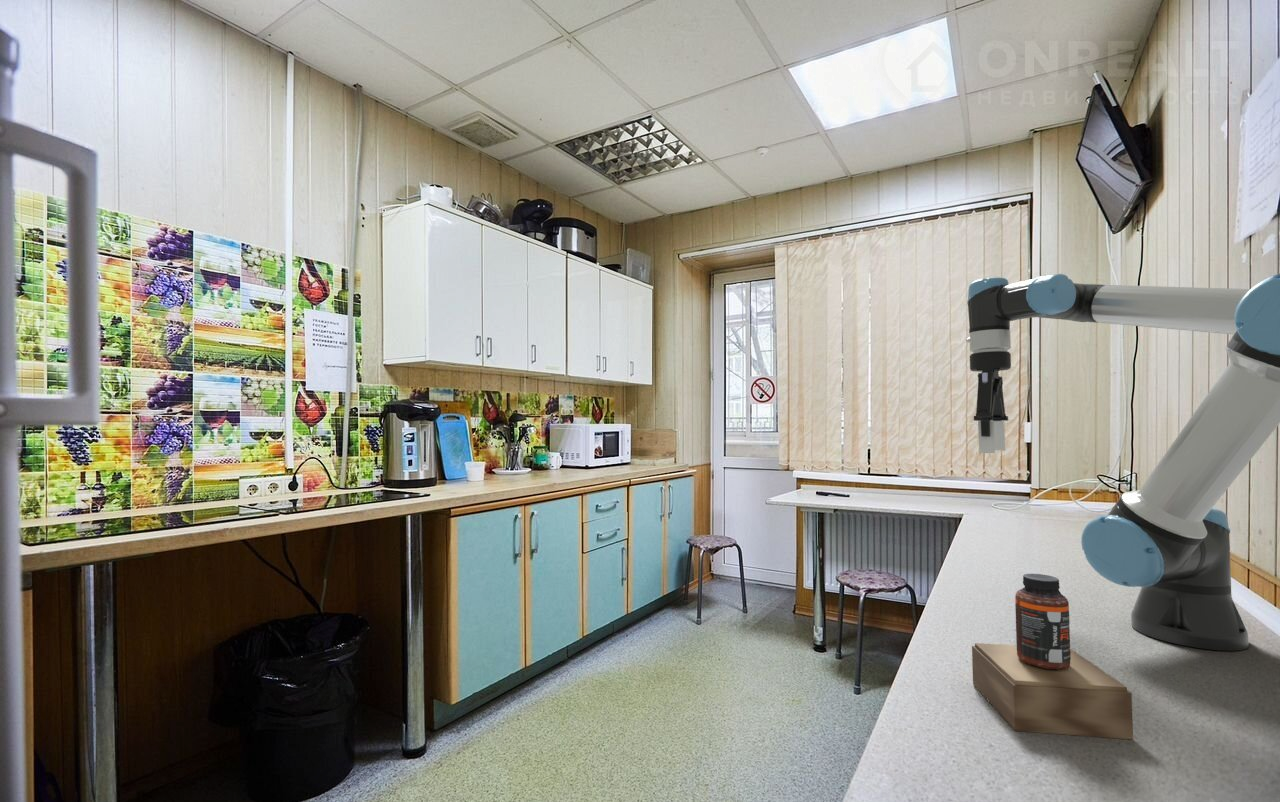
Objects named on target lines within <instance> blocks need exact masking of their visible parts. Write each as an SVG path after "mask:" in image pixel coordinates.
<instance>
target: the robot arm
mask: <svg viewBox="0 0 1280 802" xmlns="http://www.w3.org/2000/svg"><path fill="white" fill-rule="evenodd" d="M967 291H968V294H967V301H966V302H967V311H968V325H969V329H968V335H969V337H968V338H966V343H967V344H969V351H970V352H972V353H971V354H970V355H969V369H970V371H972V372H977V373H978V374H977V383H978V384H977V394H976V409H975V412H976V413H975V415H974V416H973V421H974V422H977V423H978V424H977V427H978V428H977V429H978V431H977V432H978V453H979V454H995V453H996V451H1002V452H1003V451H1004V452H1005V451H1006V436H1005V435H1006V434H1005V433H1006V431H1005V421H1007V422H1008V421H1009V416H1008V415H1007V414H1006V410H1005V400H1004V389H1003V384H1004V382H1003V377H1002V375H1000V374H999V371H1000V372H1001V371H1008V370H1011V368H1012V358H1011V357H1012V356H1011V355H1012V354H1011V352H1010V351H1009V350H1010V349H1012V347H1011V346H1012V345H1011V342H1012V341H1011V328H1010V327H1011V325H1010V324H1011V322H1013V321H1019V320H1025V319H1031V318H1042V319H1051V320H1052V319H1053V320H1063V321H1064V320H1065V321H1072V322H1078V323H1095V324H1096V323H1097V324H1098V323H1100V324H1111V325H1122V326H1132V327H1134V326H1135V327H1144V328H1156V329H1166V330H1167V329H1168V330H1179V331H1189V332H1199V333H1213V334H1224V335H1232V337H1231V338H1230V340H1229V342H1228V343H1227V345H1226V346H1225V347H1224V348H1225V351H1226V353H1227V355H1228V358H1229V364H1228V366H1226V368H1225V369H1224V370H1223V372H1222V373H1221V375H1220V377H1219V378H1218V379H1217V381H1216V382H1215V383H1214V385H1213V387H1212V388H1211V389H1210V391H1209V392H1208V393H1207V395H1206V396H1205V398H1204V399H1203V400H1202V402H1201V403H1200V404H1199V406H1198V407H1197V409H1196V410H1195V411H1194V412H1193V414H1192V416H1191V417H1190V418H1189V420H1188V421H1187V422H1186V424H1185V426H1184V427H1183V428H1182V430H1181V431H1180V433H1179V434H1177V437H1176V438H1175V439H1174V441H1173V442H1172V443H1171V446H1169V448H1168V449H1167V450H1166V452H1165V454H1164V455H1163V456H1162V457H1161V459H1160V461H1158V463H1157V465H1156V466H1155V467H1154V469H1153V470H1152V471H1151V473H1150V474H1149V476H1148V477H1147V479H1146V480H1145V481H1144V483H1143V484H1142V486H1141V487H1140V489H1137V490H1131V491H1125V492H1123V493H1122V494H1121V495H1120V497H1119V498H1118V500H1117V501H1116V502H1115V504H1114V505H1113V507H1112V508H1111V510H1110V511H1109V513H1108V514H1107V515H1100V516H1098V517H1096V518H1094V519H1092V520H1091V521H1090V522H1088V523H1087V524H1086V525H1085V527H1084V529H1083V531H1082V534H1081V538H1080V539H1081V540H1080V541H1081V542H1080V543H1081V549H1082V550H1083V553H1084V555H1085V560H1086V561H1087V562H1088V564H1089V565H1090V566H1091V567H1092V569H1093V570H1094V571H1095V572H1096V573H1097V574H1099V575H1100V576H1101V577H1102V578H1104V579H1105V580H1107V581H1109V582H1111V583H1113V584H1116V585H1119V586H1123V587H1129V588H1130V587H1131V588H1132V587H1133V588H1135V587H1139V588H1140V591H1139V593H1138V595H1137V597H1136V599H1135V600H1136V601H1135V603H1134V606H1133V609H1132V611H1131V614H1130V620H1131V622H1130V623H1131V627H1132V628H1133V629H1134V630H1135V631H1137V632H1139V633H1140V634H1143V635H1145V636H1148V637H1152V638H1154V639H1157V640H1159V641H1163V642H1166V643H1167V642H1168V643H1172V644H1175V645H1180V646H1185V647H1189V648H1196V649H1204V650H1212V651H1224V652H1225V651H1229V652H1231V651H1233V652H1234V651H1241V650H1246V649H1247V648H1248V647H1249V633H1248V630H1247V628H1246V626H1245V623H1244V622H1243V620H1242V616H1241V615H1240V613H1239V611H1238V608H1237V607H1236V604H1235V602H1234V600H1233V597H1232V596H1233V594H1232V573H1231V571H1232V570H1231V548H1230V547H1231V541H1230V534H1231V529H1230V526H1229V520H1228V516H1227V514H1226V513H1225V512H1224V511H1222V510H1220V509H1218V508H1217V509H1216V508H1214V507H1215V505H1216V504H1217V503H1218V501H1219V500H1220V499H1221V498H1222V496H1223V495H1224V494H1225V493H1226V491H1227V490H1228V489H1229V487H1230V486H1231V485H1232V484H1233V482H1234V481H1235V480H1236V479H1237V478H1238V477H1239V475H1240V474H1241V472H1242V471H1243V470H1244V469H1245V468H1246V466H1247V465H1248V464H1249V462H1251V460H1252V459H1253V457H1254V456H1255V455H1256V453H1258V451H1259V450H1260V449H1261V447H1262V446H1263V445H1264V444H1265V442H1266V441H1267V440H1268V438H1269V437H1271V435H1272V434H1273V433H1274V431H1275V429H1277V427H1278V426H1279V424H1280V273H1277V274H1275V275H1274V274H1273V275H1272V276H1269V277H1268V278H1265V279H1263V280H1262V281H1260V282H1259V283H1257V284H1256V285H1254V286H1252V287H1251V288H1225V287H1224V288H1221V287H1191V286H1190V287H1189V286H1188V287H1187V286H1159V285H1158V286H1157V285H1154V286H1152V285H1126V284H1125V285H1123V284H1121V285H1120V284H1116V285H1115V284H1098V283H1097V284H1093V283H1090V284H1089V283H1076V282H1073V280H1072V279H1070V278H1069V277H1068V276H1067V275H1066V274H1064V273H1055V274H1049V275H1046V274H1044V275H1041V276H1038V277H1036V278H1031V279H1027V280H1023V281H1018V282H1014V283H1010V284H1009V280H1008V279H1007V278H1005V277H1000V276H999V277H997V276H996V277H995V276H994V277H987V278H980V279H977V280H974V281H973V282H971V283H970V284H969V286H968V290H967Z"/></svg>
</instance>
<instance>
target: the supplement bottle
mask: <svg viewBox="0 0 1280 802" xmlns="http://www.w3.org/2000/svg"><path fill="white" fill-rule="evenodd" d="M1022 584H1023V586H1024V587H1021V589H1018V590H1017V591H1016V592H1015V597H1014V598H1015V599H1014V601H1015V602H1014V603H1015V604H1014V605H1015V607H1014V608H1015V632H1016V635H1015V637H1016V640H1015V641H1016V645H1017V655H1018V657H1019V658H1020V659H1021V660H1022V661H1024V662H1025V663H1027V664H1030V665H1033V666H1036V667H1040V668H1045V669H1051V670H1062V669H1066V668H1068V667H1069V666H1070V660H1071V657H1070V654H1071V652H1070V649H1071V637H1070V636H1071V635H1070V633H1071V630H1070V605H1069V600H1068V598H1067V597H1066V596H1065V595H1063V594H1062V593H1061V591H1060V588H1061V587H1060V580H1059V578H1058V577H1055V576H1053V575H1047V574H1041V573H1025V574H1023V575H1022Z"/></svg>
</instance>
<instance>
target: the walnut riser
mask: <svg viewBox="0 0 1280 802" xmlns="http://www.w3.org/2000/svg"><path fill="white" fill-rule="evenodd" d="M1070 652H1071V654H1070V657H1071V660H1070V666H1069V667H1068V668H1066V669H1062V670H1051V669H1045V668H1040V667H1036V666H1033V665H1030V664H1027V663H1025V662H1024V661H1022V660H1021V659H1020V658H1019V657H1018V655H1017V644H1016V645H1015V644H997V643H980V642H975V643H974V645H971V654H972V655H971V656H972V657H971V658H972V659H971V661H972V663H971V664H972V685H973V686H974V687H975V688H976V689H977V691H978V692H980V693H981V695H983V697H984V698H985V699H986V701H988V703H989V704H990V705H991V706H992V708H994V709H995V710H996V711H997V712H998V713H999V715H1000V716H1001V717H1002V718H1003V719H1004V720H1005V722H1007V724H1008V725H1009V726H1010V727H1011V728H1012V729H1013V730H1014V732H1015V731H1016V732H1025V733H1026V732H1028V733H1039V734H1041V733H1042V734H1056V735H1065V736H1066V735H1068V736H1069V735H1070V736H1081V737H1095V738H1107V739H1123V740H1134V723H1133V721H1134V719H1133V695H1132V691H1130V690H1128V687H1127V685H1124V684H1123V683H1122V682H1120V681H1118V680H1117V679H1115V678H1114V677H1112V676H1111V675H1110V674H1108V673H1107V672H1105V671H1104V670H1102V669H1101V668H1100V667H1098V666H1097V665H1095V664H1094V663H1092V662H1091V661H1089V660H1088V659H1086V658H1084V657H1083V656H1082V655H1080V654H1078V653H1077V652H1076V651H1075V650H1073V649H1071V648H1070Z"/></svg>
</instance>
